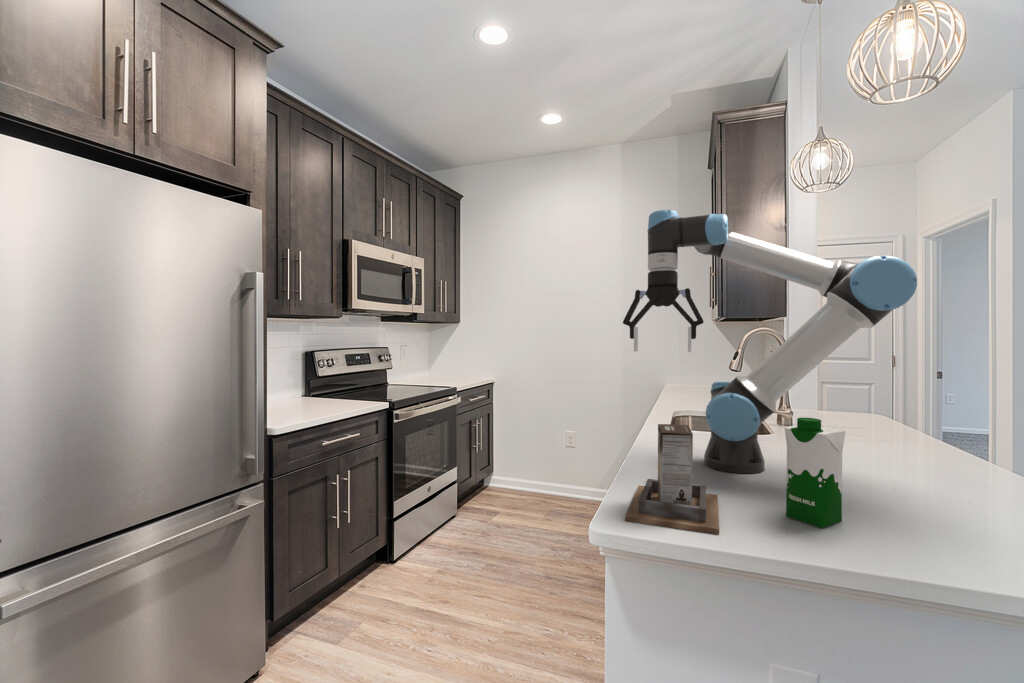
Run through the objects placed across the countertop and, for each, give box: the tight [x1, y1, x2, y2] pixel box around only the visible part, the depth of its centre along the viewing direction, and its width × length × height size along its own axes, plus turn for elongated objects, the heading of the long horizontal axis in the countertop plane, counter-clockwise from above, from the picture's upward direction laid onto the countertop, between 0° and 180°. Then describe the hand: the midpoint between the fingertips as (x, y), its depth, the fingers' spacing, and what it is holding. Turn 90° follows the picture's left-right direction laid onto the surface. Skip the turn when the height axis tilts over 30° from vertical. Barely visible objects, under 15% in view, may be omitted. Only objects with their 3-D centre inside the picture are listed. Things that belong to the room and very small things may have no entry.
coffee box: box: [657, 423, 694, 505], centre depth 101 cm, size 9×6×16 cm
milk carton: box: [784, 417, 846, 529], centre depth 96 cm, size 9×9×20 cm
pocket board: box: [624, 478, 720, 535], centre depth 101 cm, size 17×20×4 cm
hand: (662, 351), depth 128 cm, fingers open, 13 cm apart
